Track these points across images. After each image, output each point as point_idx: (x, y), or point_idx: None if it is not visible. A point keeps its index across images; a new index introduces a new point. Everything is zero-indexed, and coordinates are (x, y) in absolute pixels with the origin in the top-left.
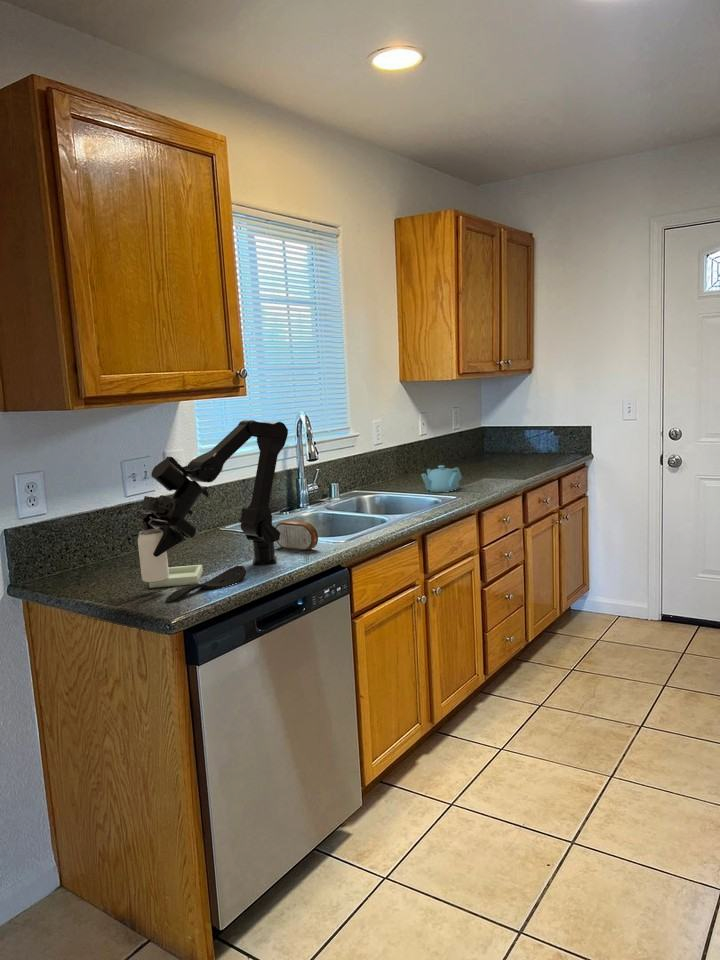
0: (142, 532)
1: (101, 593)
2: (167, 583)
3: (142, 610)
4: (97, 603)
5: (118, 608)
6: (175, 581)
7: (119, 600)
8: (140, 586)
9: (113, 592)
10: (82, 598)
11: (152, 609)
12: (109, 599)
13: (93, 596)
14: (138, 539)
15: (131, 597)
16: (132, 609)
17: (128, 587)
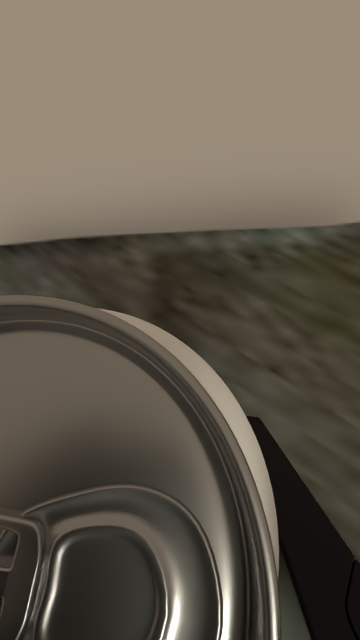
0: (243, 514)
1: (354, 310)
2: None
3: (34, 267)
4: (241, 238)
5: (125, 243)
6: None
7: (202, 292)
8: (310, 457)
9: (325, 341)
10: (350, 243)
11: (10, 288)
12: (247, 282)
13: (340, 275)
14: (126, 316)
15: (194, 335)
16: (73, 258)
17: (343, 419)
